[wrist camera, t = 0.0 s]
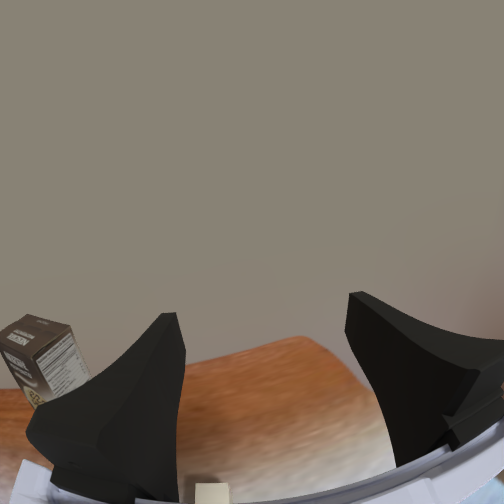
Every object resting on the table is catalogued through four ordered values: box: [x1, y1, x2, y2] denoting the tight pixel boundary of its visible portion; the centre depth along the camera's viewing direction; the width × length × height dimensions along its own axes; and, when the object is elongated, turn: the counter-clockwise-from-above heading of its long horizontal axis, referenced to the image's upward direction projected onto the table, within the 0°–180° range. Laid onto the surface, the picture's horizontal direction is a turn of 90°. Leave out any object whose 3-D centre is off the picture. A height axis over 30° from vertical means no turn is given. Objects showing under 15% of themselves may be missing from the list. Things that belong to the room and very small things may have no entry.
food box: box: [0, 314, 92, 410], centre depth 22 cm, size 9×6×16 cm
